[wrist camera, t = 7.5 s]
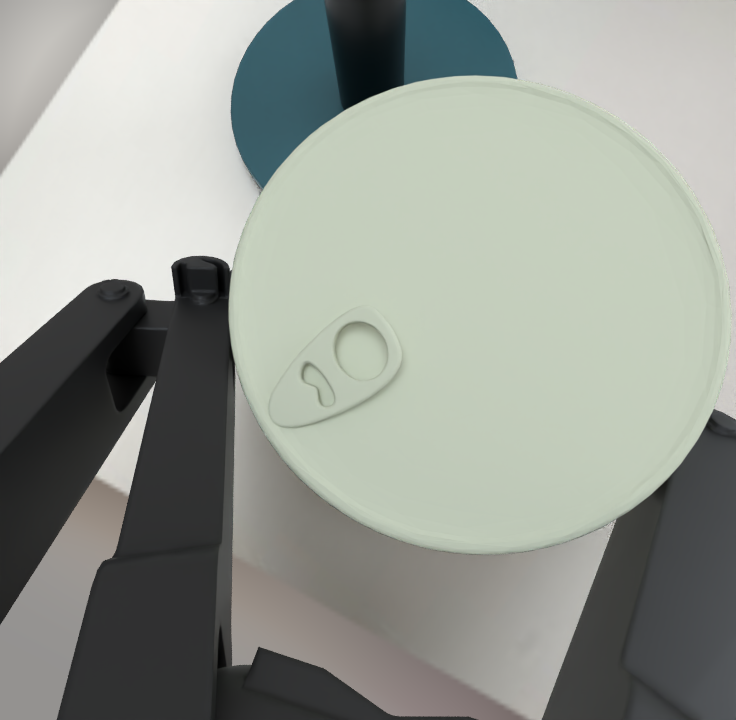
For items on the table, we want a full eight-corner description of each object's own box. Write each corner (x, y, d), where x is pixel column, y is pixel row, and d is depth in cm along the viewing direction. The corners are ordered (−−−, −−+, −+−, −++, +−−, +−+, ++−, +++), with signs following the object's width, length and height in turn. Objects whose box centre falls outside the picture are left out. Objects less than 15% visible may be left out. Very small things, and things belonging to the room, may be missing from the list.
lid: (225, 238, 21) (69, 59, 11) (252, -1, 23) (143, -334, 13) (512, 245, 20) (631, 56, 10) (512, -5, 22) (609, -367, 12)
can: (285, 345, 20) (123, 218, 8) (452, 239, 20) (535, -34, 8) (395, 524, 18) (398, 695, 6) (574, 405, 19) (890, 359, 7)
